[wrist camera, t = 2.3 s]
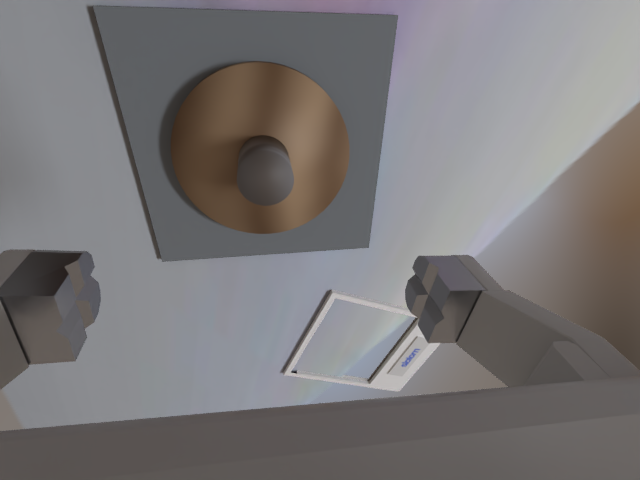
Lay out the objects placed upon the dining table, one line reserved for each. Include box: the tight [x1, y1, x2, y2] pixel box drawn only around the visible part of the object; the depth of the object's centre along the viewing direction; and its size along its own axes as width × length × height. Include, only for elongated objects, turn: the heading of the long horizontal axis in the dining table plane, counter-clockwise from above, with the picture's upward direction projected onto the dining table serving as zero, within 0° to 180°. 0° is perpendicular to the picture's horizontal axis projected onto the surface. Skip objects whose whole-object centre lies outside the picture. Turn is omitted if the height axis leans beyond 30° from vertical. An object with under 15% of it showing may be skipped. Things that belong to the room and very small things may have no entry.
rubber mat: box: [93, 6, 398, 262], centre depth 29 cm, size 20×20×1 cm
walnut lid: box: [171, 61, 350, 234], centre depth 27 cm, size 14×14×5 cm
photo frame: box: [284, 290, 440, 392], centre depth 45 cm, size 15×1×18 cm
